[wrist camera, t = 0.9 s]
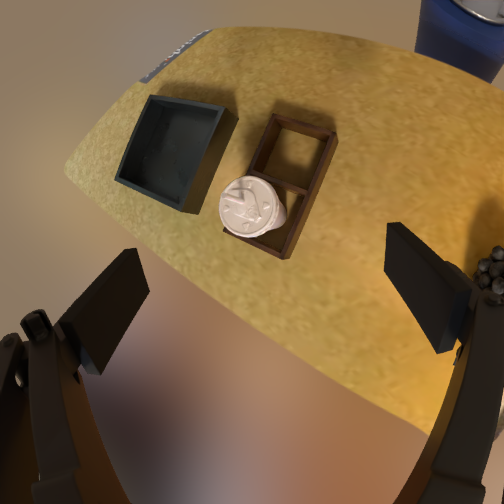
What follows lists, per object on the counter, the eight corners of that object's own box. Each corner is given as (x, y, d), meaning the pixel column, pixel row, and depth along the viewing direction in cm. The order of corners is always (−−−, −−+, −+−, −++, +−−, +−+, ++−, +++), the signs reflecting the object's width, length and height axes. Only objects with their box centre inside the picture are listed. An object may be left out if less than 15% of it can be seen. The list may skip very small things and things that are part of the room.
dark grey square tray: (238, 119, 40) (225, 106, 35) (198, 214, 42) (180, 211, 38) (165, 104, 45) (149, 94, 40) (132, 184, 47) (113, 180, 43)
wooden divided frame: (338, 142, 35) (336, 132, 31) (289, 258, 38) (282, 260, 34) (279, 123, 37) (272, 113, 34) (233, 232, 40) (222, 231, 37)
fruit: (485, 387, 20) (547, 263, 17) (432, 354, 25) (493, 229, 22) (478, 367, 27) (527, 267, 24) (435, 339, 32) (483, 240, 29)
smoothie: (274, 181, 38) (229, 150, 25) (307, 215, 37) (277, 198, 23) (241, 215, 40) (184, 201, 27) (272, 249, 38) (225, 251, 25)
